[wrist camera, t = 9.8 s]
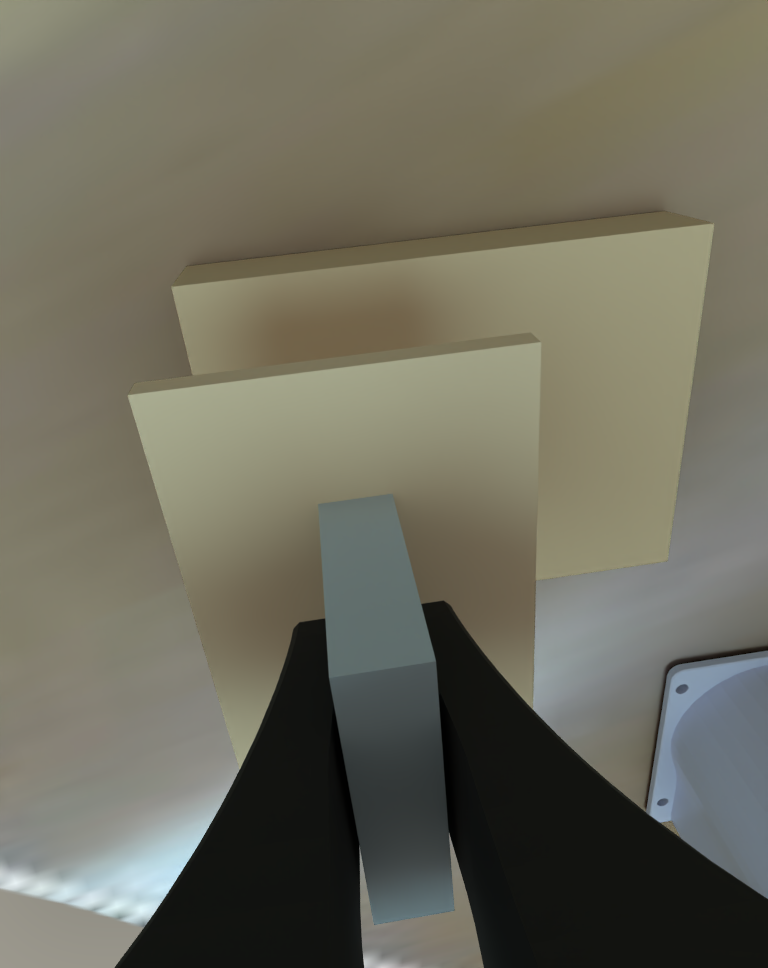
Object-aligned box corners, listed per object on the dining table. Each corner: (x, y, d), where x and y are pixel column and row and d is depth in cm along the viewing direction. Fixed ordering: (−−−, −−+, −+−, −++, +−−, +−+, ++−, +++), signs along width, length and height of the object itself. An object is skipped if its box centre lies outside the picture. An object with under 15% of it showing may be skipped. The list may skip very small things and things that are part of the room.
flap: (524, 747, 15) (602, 959, 11) (253, 791, 15) (240, 1025, 11) (530, 332, 10) (666, 457, 7) (134, 382, 10) (38, 544, 6)
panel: (632, 519, 23) (667, 561, 21) (256, 573, 22) (252, 622, 20) (664, 211, 18) (714, 223, 16) (186, 266, 18) (171, 286, 15)
